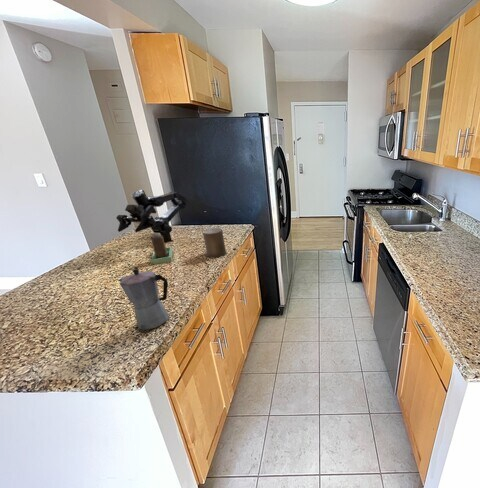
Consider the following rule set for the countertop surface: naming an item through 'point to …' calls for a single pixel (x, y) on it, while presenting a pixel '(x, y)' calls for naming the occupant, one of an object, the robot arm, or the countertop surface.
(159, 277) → the moka pot
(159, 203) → the robot arm
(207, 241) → the pillar candle
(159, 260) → the caddy
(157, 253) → the pepper mill
